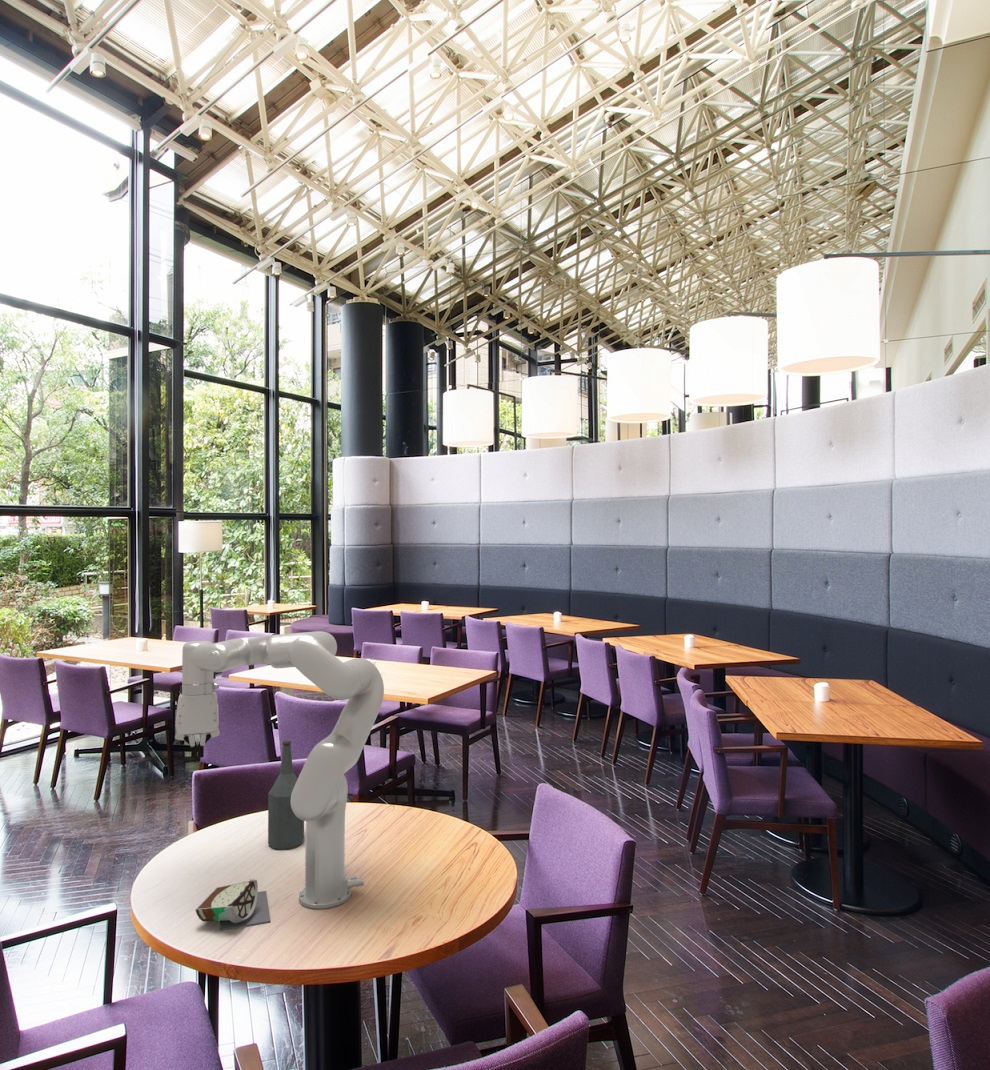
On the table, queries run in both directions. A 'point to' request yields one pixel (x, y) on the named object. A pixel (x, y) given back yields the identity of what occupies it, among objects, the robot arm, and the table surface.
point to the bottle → (284, 807)
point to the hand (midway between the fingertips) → (197, 760)
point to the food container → (230, 902)
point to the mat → (252, 915)
